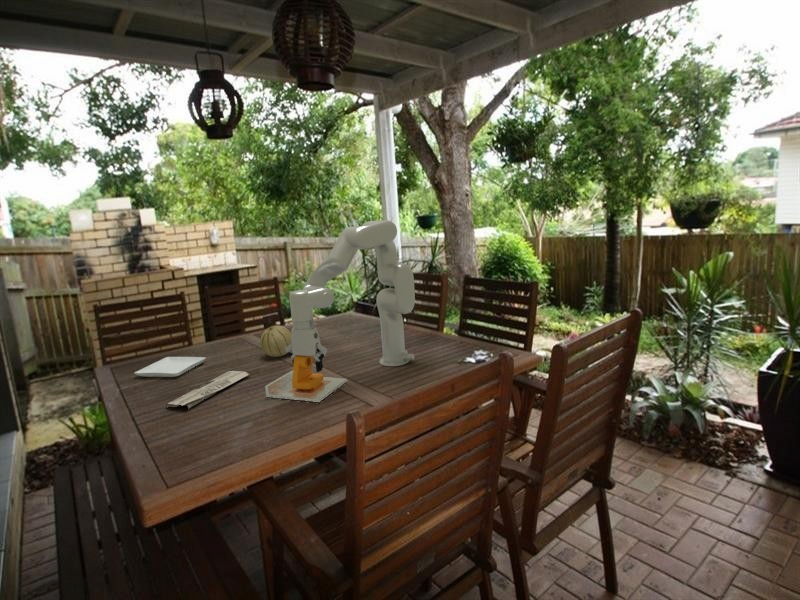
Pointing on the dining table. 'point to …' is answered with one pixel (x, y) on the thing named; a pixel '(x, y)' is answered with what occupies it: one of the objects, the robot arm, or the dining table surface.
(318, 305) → the robot arm
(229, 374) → the newspaper
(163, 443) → the dining table surface
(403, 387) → the dining table surface
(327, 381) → the plate
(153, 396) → the dining table surface
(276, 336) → the cantaloupe
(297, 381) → the bracket
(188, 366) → the salad plate
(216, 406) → the dining table surface
